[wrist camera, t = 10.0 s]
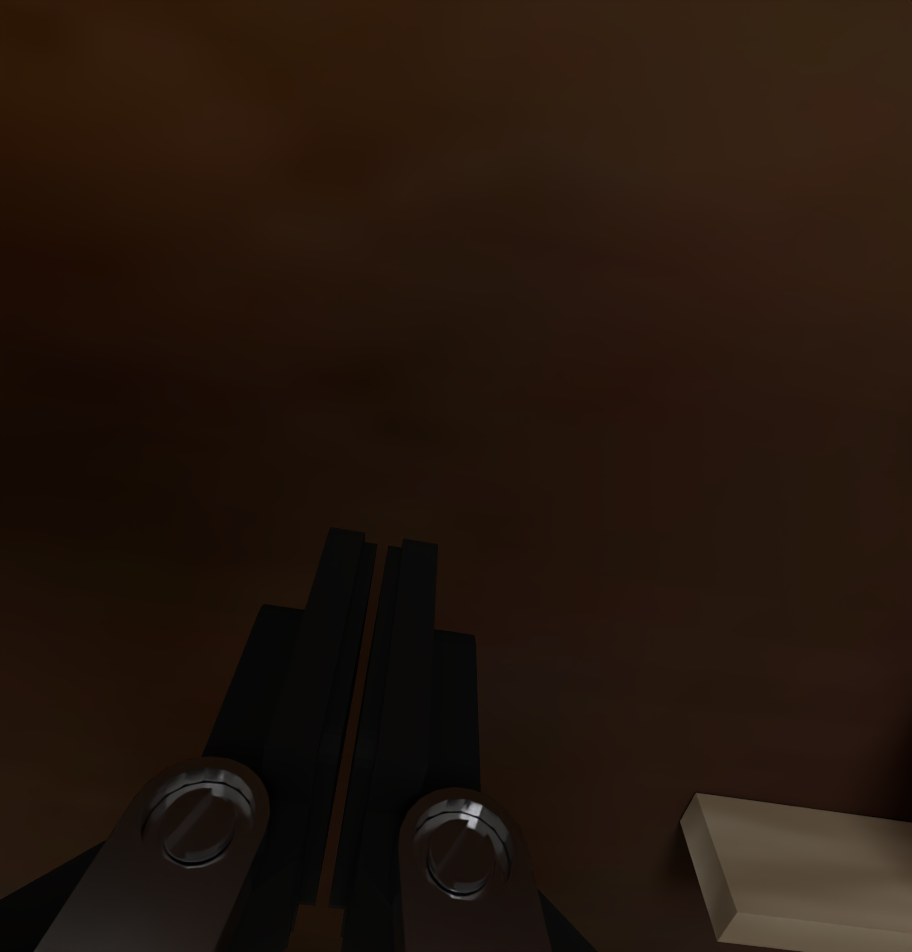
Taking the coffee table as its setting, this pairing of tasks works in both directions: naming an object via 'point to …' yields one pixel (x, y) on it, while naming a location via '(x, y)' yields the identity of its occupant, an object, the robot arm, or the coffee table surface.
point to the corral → (801, 875)
